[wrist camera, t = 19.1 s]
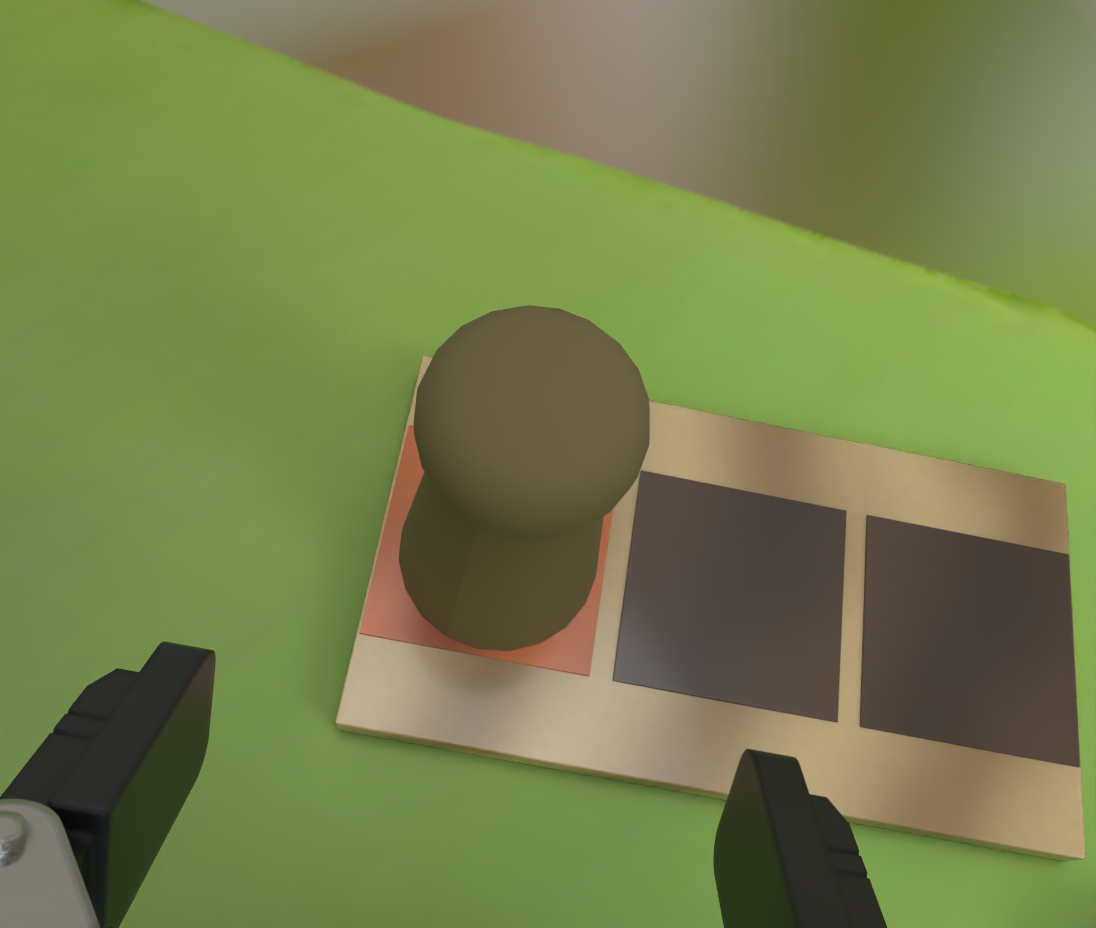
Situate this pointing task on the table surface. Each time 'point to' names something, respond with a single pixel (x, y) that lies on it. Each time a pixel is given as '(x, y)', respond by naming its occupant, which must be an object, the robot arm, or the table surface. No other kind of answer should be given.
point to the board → (777, 637)
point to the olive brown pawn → (519, 473)
